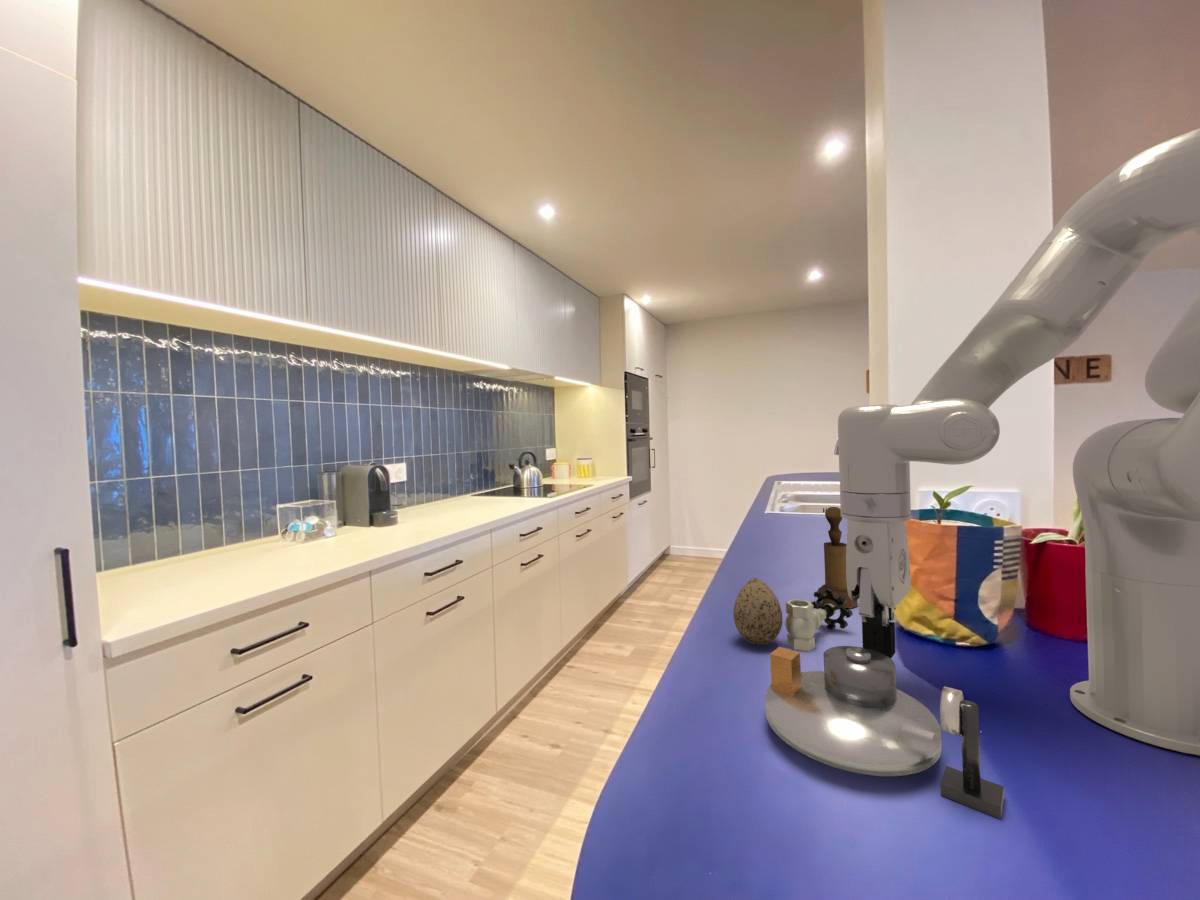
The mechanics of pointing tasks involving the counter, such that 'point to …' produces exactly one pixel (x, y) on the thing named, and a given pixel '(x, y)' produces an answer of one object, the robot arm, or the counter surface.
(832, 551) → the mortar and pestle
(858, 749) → the turntable
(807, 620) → the valve
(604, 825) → the counter surface
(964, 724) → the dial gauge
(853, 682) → the cover
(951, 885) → the counter surface
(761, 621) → the decorative egg
